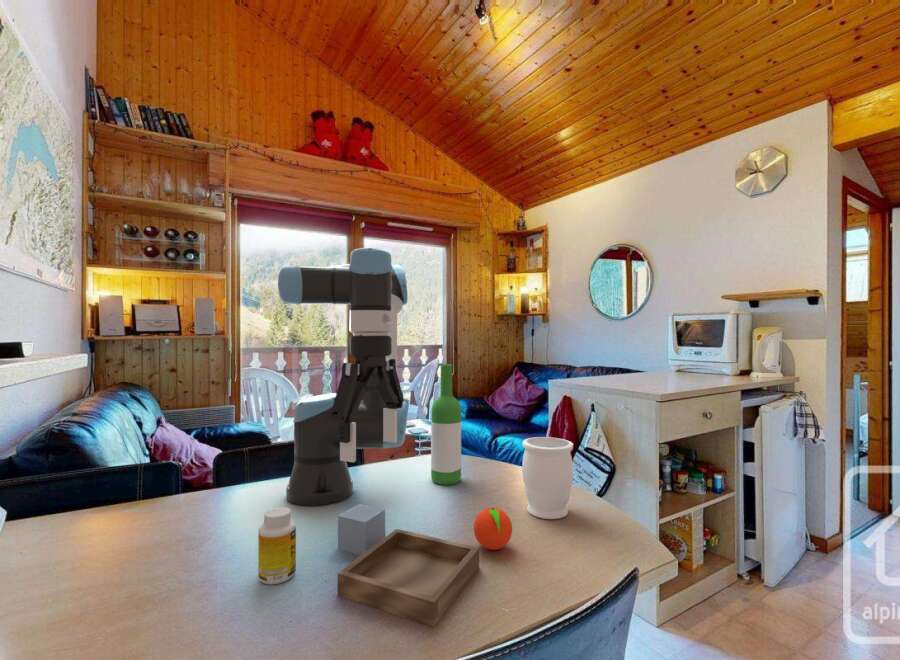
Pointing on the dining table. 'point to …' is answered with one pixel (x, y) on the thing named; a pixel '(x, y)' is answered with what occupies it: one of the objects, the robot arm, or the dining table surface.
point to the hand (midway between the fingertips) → (370, 450)
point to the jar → (547, 476)
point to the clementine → (492, 528)
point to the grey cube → (360, 528)
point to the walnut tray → (410, 575)
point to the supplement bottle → (277, 546)
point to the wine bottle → (446, 433)
